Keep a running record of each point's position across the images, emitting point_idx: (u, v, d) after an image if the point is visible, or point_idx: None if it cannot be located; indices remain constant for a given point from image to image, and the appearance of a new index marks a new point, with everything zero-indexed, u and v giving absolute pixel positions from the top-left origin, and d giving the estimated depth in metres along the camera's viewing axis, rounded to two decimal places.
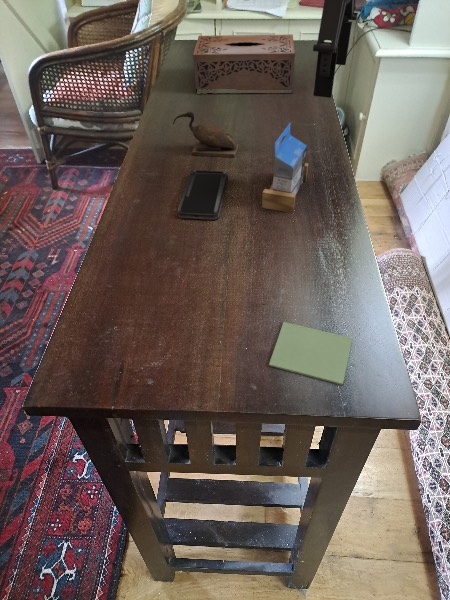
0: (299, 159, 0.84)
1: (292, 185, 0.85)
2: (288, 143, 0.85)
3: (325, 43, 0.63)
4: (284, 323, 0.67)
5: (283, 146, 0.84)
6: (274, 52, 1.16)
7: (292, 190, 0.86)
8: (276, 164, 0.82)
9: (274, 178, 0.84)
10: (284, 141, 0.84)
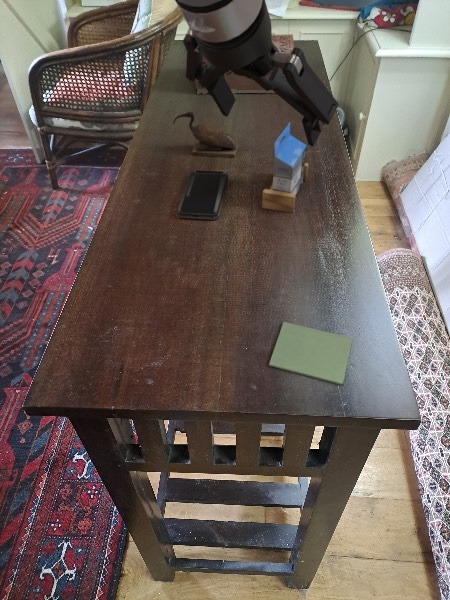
0: (299, 159, 0.84)
1: (292, 185, 0.85)
2: (287, 142, 0.85)
3: (330, 111, 0.52)
4: (284, 323, 0.67)
5: (283, 146, 0.84)
6: None
7: (292, 190, 0.86)
8: (276, 164, 0.82)
9: (274, 178, 0.84)
10: (284, 141, 0.84)
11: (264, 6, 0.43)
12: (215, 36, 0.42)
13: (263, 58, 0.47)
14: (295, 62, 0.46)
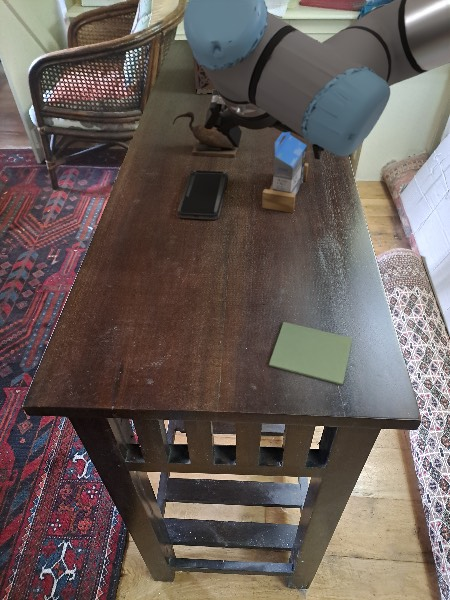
0: (299, 159, 0.84)
1: (292, 185, 0.85)
2: (287, 142, 0.85)
3: None
4: (284, 323, 0.67)
5: (283, 146, 0.84)
6: None
7: (292, 190, 0.86)
8: (276, 164, 0.82)
9: (274, 178, 0.84)
10: (284, 141, 0.84)
11: None
12: (254, 113, 0.53)
13: None
14: None
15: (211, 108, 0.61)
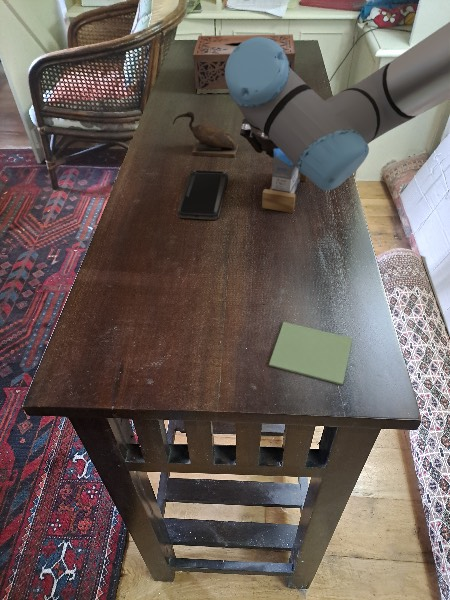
0: None
1: (291, 184, 0.85)
2: None
3: None
4: (284, 323, 0.67)
5: None
6: None
7: (291, 189, 0.86)
8: (275, 164, 0.82)
9: (273, 178, 0.84)
10: None
11: None
12: None
13: None
14: None
15: (240, 134, 0.75)
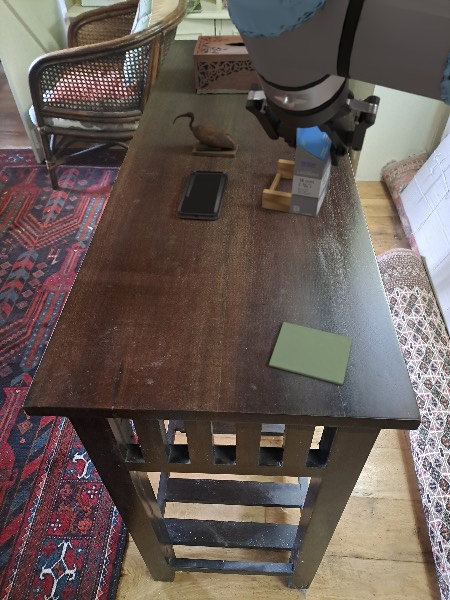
0: None
1: (321, 187, 0.57)
2: None
3: None
4: (284, 323, 0.67)
5: (306, 129, 0.56)
6: None
7: (320, 194, 0.58)
8: (298, 156, 0.54)
9: (294, 178, 0.57)
10: None
11: None
12: (307, 105, 0.38)
13: (342, 107, 0.43)
14: (376, 112, 0.44)
15: (247, 107, 0.48)
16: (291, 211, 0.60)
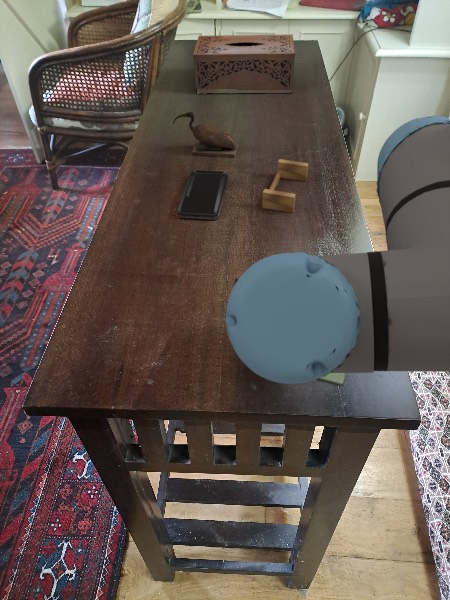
0: None
1: None
2: None
3: None
4: None
5: None
6: (274, 52, 1.16)
7: None
8: None
9: None
10: None
11: None
12: None
13: None
14: None
15: None
16: None
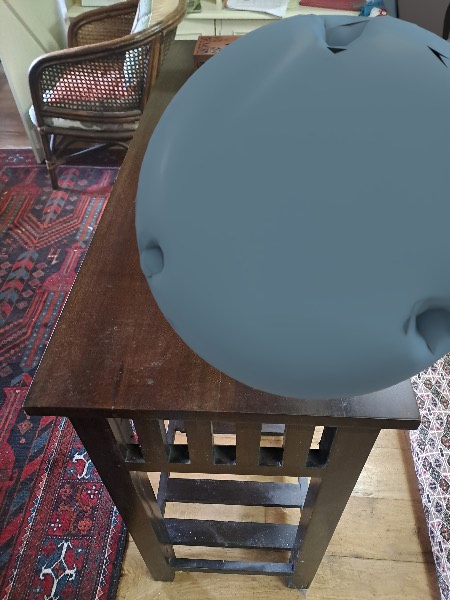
0: None
1: None
2: None
3: None
4: None
5: None
6: None
7: None
8: None
9: None
10: None
11: None
12: None
13: None
14: None
15: None
16: None
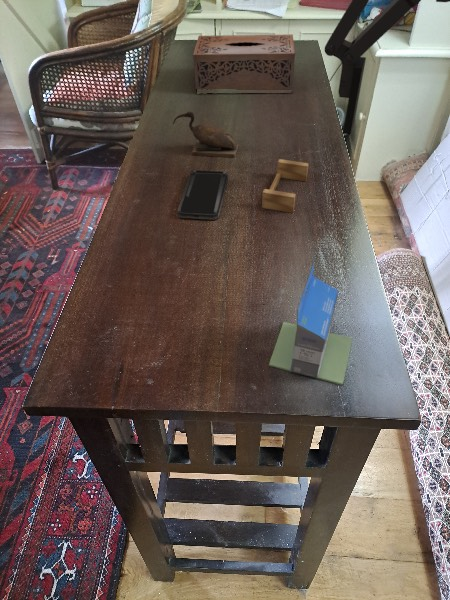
0: (331, 318, 0.57)
1: (322, 355, 0.57)
2: (312, 293, 0.58)
3: None
4: (284, 323, 0.67)
5: (306, 301, 0.56)
6: (274, 52, 1.16)
7: (321, 359, 0.59)
8: (299, 333, 0.55)
9: (295, 347, 0.57)
10: (307, 292, 0.57)
11: None
12: None
13: None
14: None
15: None
16: (292, 370, 0.61)
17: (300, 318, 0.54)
